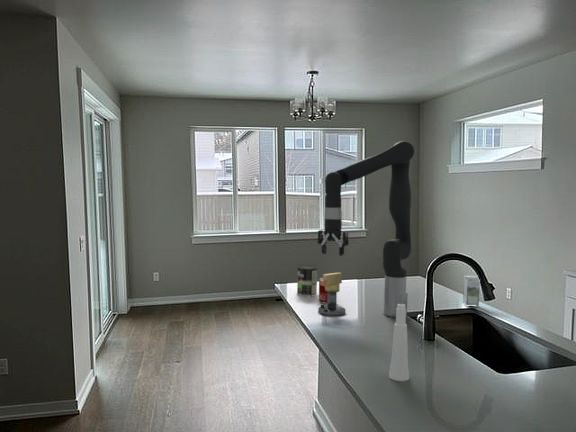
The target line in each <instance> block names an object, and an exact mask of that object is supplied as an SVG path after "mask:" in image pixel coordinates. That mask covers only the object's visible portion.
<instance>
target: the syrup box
mask: <svg viewBox="0 0 576 432" xmlns="http://www.w3.org/2000/svg"><path fill="white" fill-rule="evenodd" d="M478 276H479V275H477V274H464V276H463V277H464V278H463V296H462V297H463V298H462V304H463V303H465V304H466V305H476V306H479V303H480V288H481V287H480V285H481V281H480V282H479V279H478Z"/></svg>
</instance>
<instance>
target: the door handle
mask: <svg viewBox="0 0 576 432" xmlns="http://www.w3.org/2000/svg"><path fill="white" fill-rule="evenodd" d="M342 275H343V273H342V272H340V271H339V272H332V273H324V274H322V278H323V280H321V281H320V285H322V286H325V291H326V292H337V293H338V292H340V284H342V283H343V281H342V280H343V276H342Z"/></svg>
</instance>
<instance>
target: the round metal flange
mask: <svg viewBox="0 0 576 432" xmlns="http://www.w3.org/2000/svg"><path fill="white" fill-rule="evenodd" d="M337 294H338V292H328V301H327V303H326V305H325V304H320V306H319V307H318V308H317V309H318V310H317V312H318V314H319V315H322V316H325V317H326V316H327V317H341V316H344V315H346V308H344V307H343V306H339V305H338V304H337V301H338V300H337V298H338V297H337Z"/></svg>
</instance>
